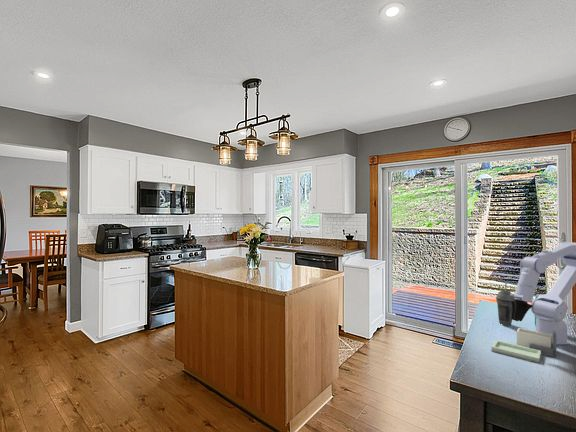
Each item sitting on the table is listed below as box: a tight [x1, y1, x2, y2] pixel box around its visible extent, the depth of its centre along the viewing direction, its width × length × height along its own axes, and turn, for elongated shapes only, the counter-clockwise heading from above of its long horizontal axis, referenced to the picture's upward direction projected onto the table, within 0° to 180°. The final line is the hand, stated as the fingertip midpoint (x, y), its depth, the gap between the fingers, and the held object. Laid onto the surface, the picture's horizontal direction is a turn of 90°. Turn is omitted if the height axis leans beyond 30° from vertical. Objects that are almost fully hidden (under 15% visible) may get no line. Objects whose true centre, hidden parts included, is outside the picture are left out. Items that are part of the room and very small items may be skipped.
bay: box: [530, 328, 557, 358], centre depth 114 cm, size 7×8×8 cm
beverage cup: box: [495, 281, 516, 327], centre depth 142 cm, size 7×7×20 cm
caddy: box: [516, 327, 552, 348], centre depth 116 cm, size 10×5×6 cm, turn 48°
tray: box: [491, 340, 542, 364], centre depth 112 cm, size 14×9×2 cm, turn 48°
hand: (516, 320), depth 119 cm, fingers open, 7 cm apart
